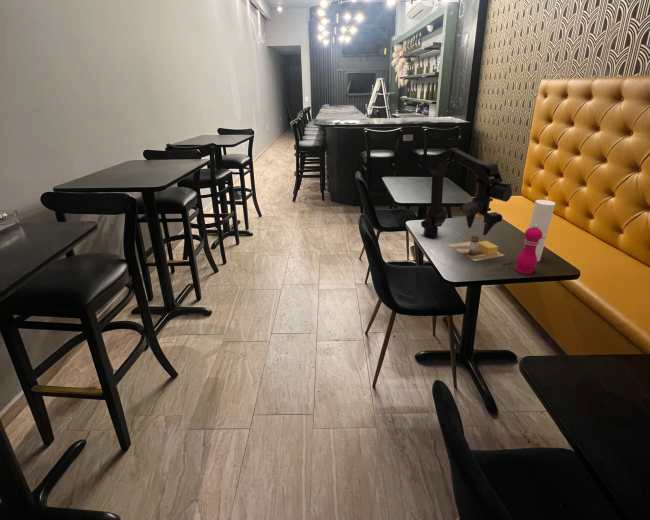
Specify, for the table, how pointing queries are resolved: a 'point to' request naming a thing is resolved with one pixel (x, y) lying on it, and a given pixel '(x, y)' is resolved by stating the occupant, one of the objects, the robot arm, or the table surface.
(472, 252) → the bronze metal canister
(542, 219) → the cylindrical container
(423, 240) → the table surface
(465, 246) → the board
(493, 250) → the mustard yellow box
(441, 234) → the table surface
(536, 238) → the pink bowling pin
